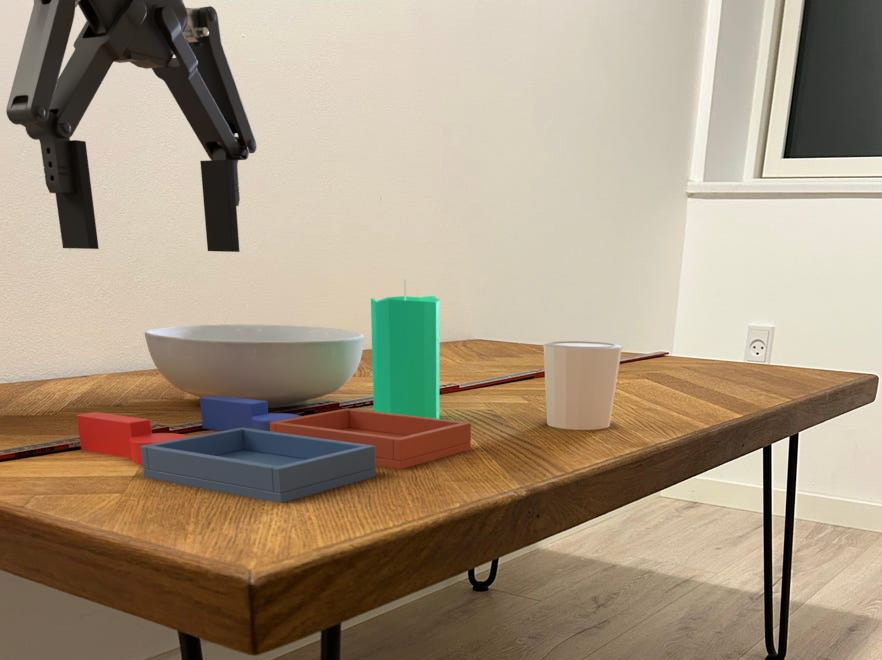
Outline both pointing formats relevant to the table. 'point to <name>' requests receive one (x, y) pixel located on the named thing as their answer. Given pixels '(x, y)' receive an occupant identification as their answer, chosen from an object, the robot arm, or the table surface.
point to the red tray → (385, 434)
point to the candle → (406, 355)
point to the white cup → (580, 383)
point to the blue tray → (259, 463)
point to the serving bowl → (256, 360)
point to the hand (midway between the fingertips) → (157, 250)
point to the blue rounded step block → (237, 413)
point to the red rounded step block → (118, 434)
